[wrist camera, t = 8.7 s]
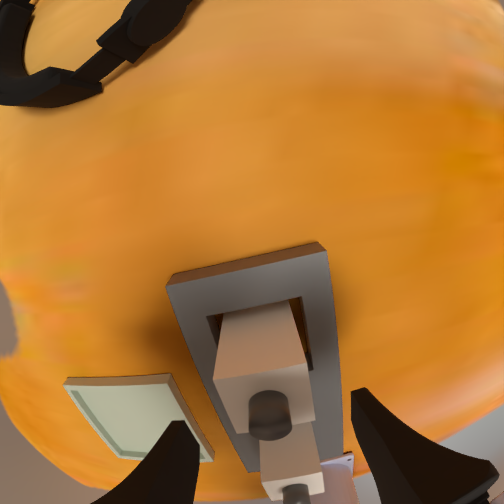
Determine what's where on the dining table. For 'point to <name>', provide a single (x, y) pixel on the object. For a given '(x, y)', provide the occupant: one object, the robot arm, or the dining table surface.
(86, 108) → the dining table surface
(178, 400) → the tray
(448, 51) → the dining table surface
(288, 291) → the power strip
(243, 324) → the plug
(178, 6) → the headphones
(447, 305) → the dining table surface
